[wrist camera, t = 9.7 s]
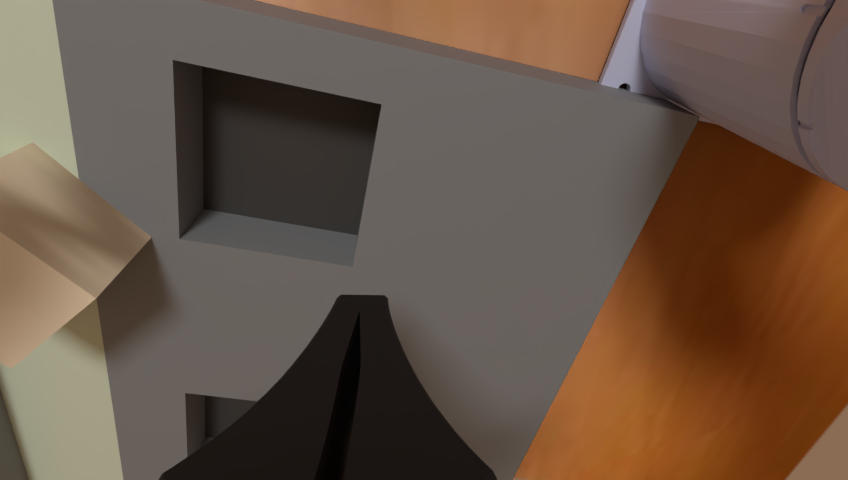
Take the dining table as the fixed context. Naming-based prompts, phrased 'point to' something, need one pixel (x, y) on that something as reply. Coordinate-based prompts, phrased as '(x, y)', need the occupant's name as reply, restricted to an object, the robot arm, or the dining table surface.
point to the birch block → (53, 249)
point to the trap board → (312, 219)
